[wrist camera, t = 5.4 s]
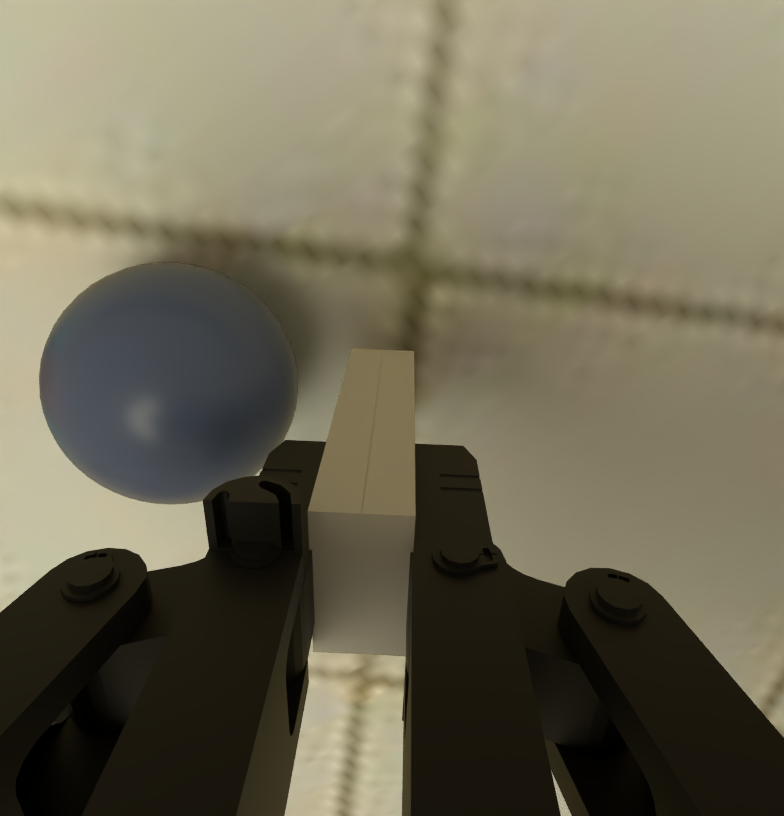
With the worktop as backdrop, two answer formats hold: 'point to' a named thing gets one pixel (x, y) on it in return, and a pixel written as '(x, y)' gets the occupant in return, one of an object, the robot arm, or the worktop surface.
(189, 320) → the blue ball
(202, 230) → the worktop surface
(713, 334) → the worktop surface
